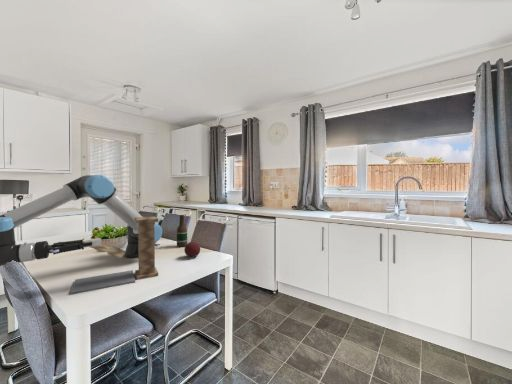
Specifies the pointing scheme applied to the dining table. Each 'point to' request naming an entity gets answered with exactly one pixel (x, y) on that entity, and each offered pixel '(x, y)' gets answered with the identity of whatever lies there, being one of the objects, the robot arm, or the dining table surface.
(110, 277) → the mat
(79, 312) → the dining table surface
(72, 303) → the dining table surface
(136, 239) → the robot arm
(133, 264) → the dining table surface
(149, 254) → the stand
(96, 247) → the spoon
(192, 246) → the decorative ball
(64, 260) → the dining table surface
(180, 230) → the beer bottle
